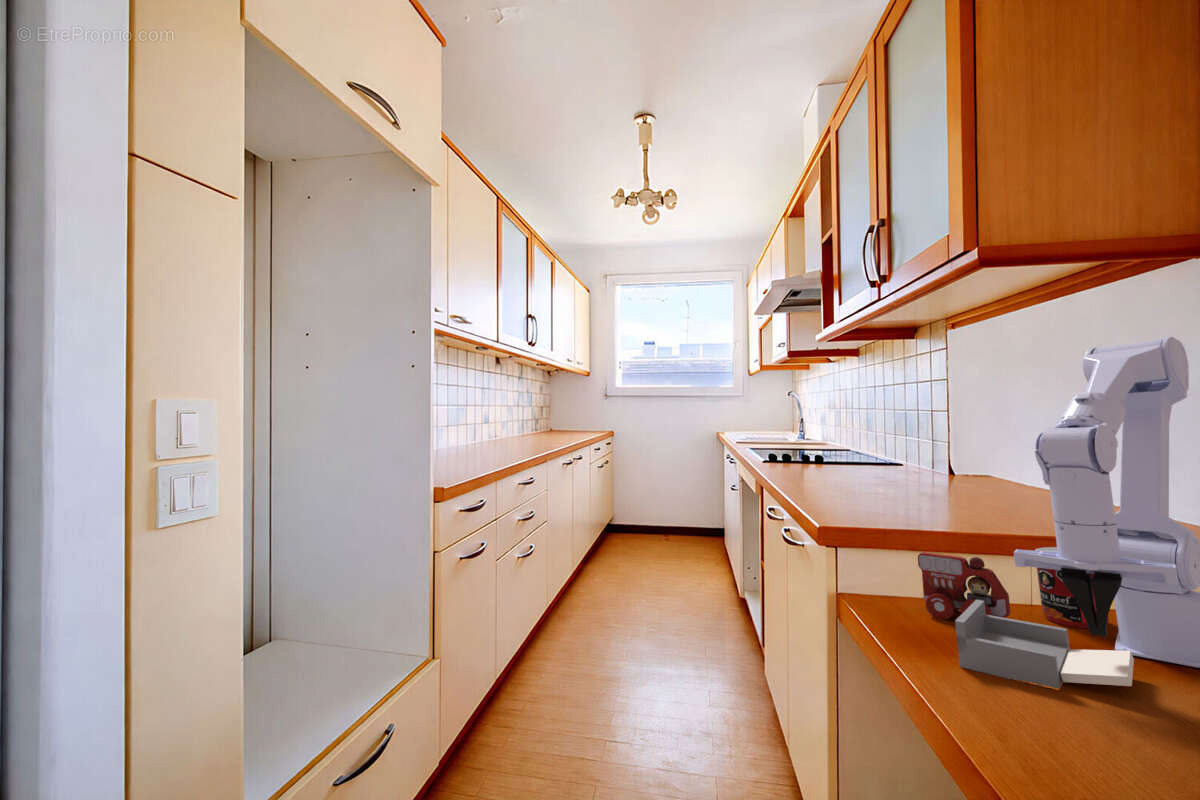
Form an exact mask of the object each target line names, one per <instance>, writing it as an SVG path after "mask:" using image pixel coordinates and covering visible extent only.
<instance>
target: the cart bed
mask: <svg viewBox="0 0 1200 800" xmlns="http://www.w3.org/2000/svg"><path fill="white" fill-rule="evenodd" d="M954 625H955V633H956V641H957V642H956V643H957V650H958V660H959V667H960V668H963V669H967V670H971V671H975V672H980V673H983V674H988V675H991V676H995V677H999V678H1004V679H1008V680H1011V679H1013V681H1015V680H1020V681H1026V682H1032V683H1036V684H1039V685H1045V686H1050V687H1054V688H1058V689H1059V688H1060V686H1061V683H1062V681H1063V680H1062V677H1061V675H1060V672H1061V669H1062V666H1063V663H1064V661H1065V658H1066V655H1067V653H1068V650H1069V649H1070V642H1069V634H1068V628H1065V627H1064V628H1063V627H1059V626H1053V625H1047V624H1043V623H1036V622H1030V621H1024V620H1018V619H1013V618H1008V617H1006V618H1003V617H997V616H991V615H986V612H985V603H984V601H982V600H975V601H974V602H973V603H972V604H971V605H970V606H969V607H968V608H967V609H966V610H965V611H964V612H963V613H962V614H961V613H960V616H958V617H957V618H956V619H955V620H954ZM1062 684H1063V683H1062ZM1061 687H1062V686H1061Z"/></svg>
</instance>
